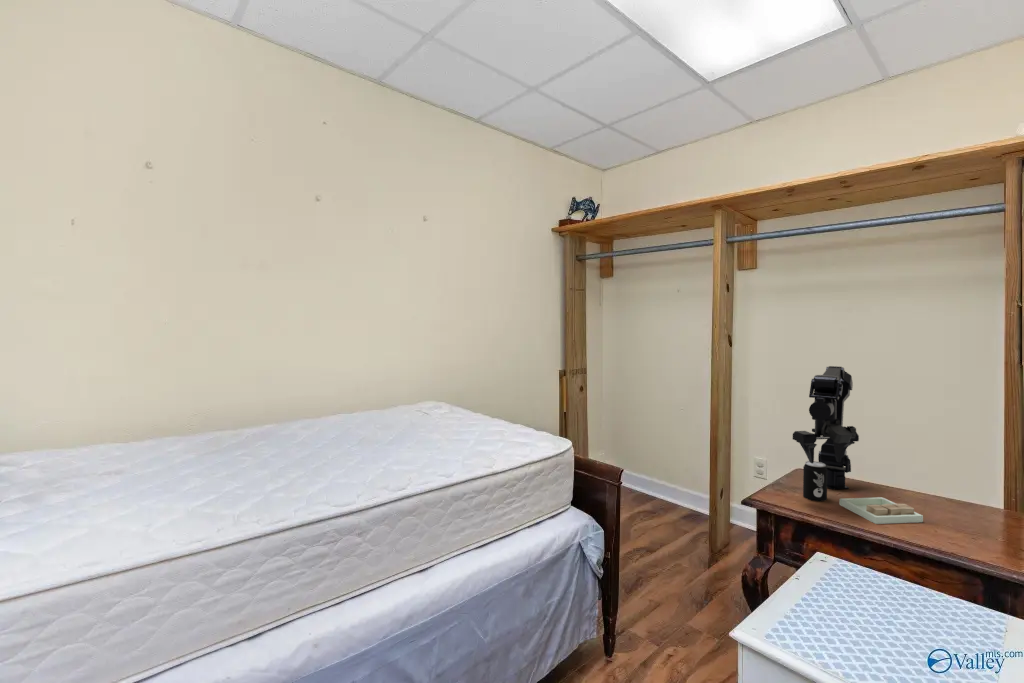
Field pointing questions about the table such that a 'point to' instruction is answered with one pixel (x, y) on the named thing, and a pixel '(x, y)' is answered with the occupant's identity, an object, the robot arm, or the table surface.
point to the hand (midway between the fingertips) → (825, 462)
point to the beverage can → (815, 481)
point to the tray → (860, 508)
